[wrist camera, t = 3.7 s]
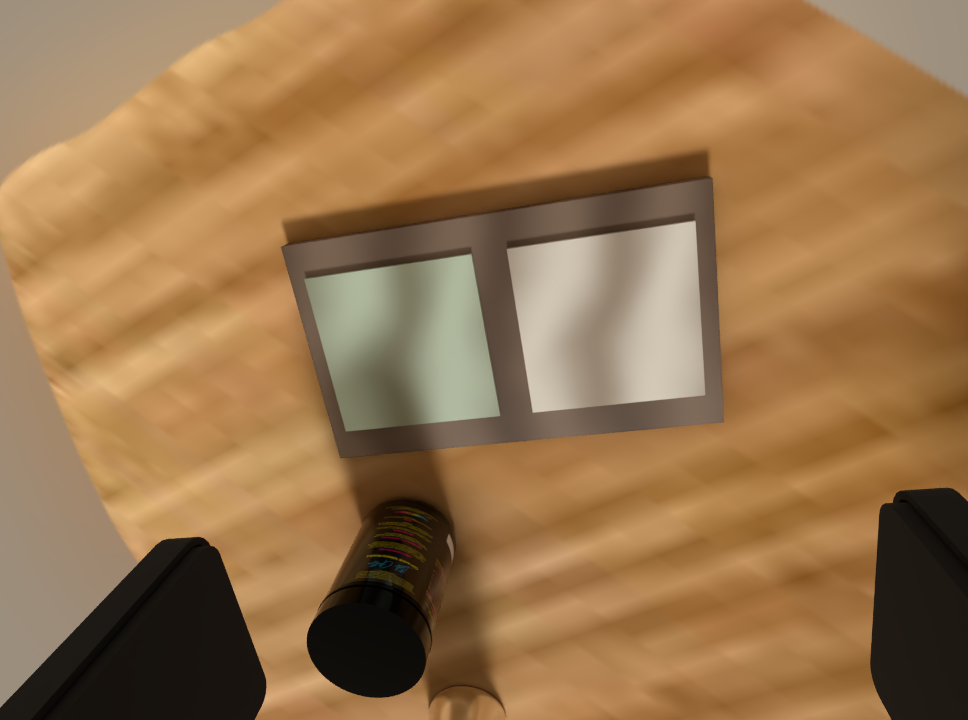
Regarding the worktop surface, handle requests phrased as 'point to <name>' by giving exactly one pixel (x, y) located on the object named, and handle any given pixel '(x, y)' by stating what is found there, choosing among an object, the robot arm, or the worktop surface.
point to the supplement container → (384, 601)
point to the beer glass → (465, 705)
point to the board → (517, 322)
